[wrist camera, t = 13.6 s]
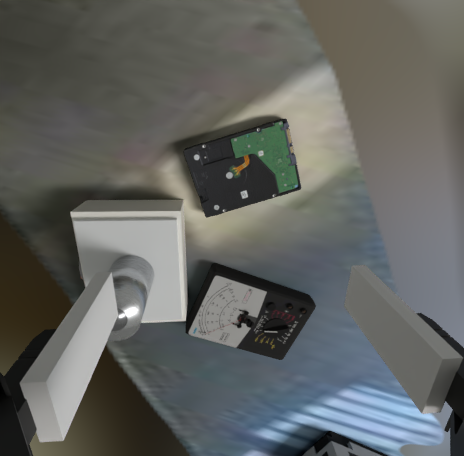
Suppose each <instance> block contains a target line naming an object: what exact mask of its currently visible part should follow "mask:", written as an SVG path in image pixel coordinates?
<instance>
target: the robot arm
mask: <svg viewBox="0 0 464 456" xmlns="http://www.w3.org/2000/svg"><path fill="white" fill-rule="evenodd" d="M344 307H345V308H346V310H347V311H348V312H349V314H350V315H351V316H352V318H353V319H354V321H355V322H356V323H357V325H358V326H359V327H360V329H361V330H362V332H363V333H364V334H365V336H366V337H367V339H368V340H369V341H370V343H371V344H372V345H373V347H374V348H375V350H376V351H377V352H378V354H379V355H380V356H381V358H382V359H383V361H384V362H385V363H386V365H387V366H388V368H389V369H390V370H391V372H392V373H393V374H394V376H395V377H396V379H397V380H398V381H399V383H400V384H401V385H402V387H403V388H404V390H405V391H406V392H407V394H408V395H409V397H410V398H411V399H412V401H413V402H414V403H415V405H416V406H417V408H418V409H419V410H420V412H421V413H422V414H425V413H438V412H441V410H442V408H443V405H444V403H445V401H446V402H447V403H448V404H449V405H450V407H451V408H452V409H453V411H452V413H451V415H450V418H449V420H448V422H447V425H446V427H445V431H446V432H448V431H449V429H450V439H451V440H450V447H451V448H450V451H451V456H464V348H463V347H462V346H461V345H460V344H459V343H458V342H457V341H455V340H454V339H453V338H452V337H450V335H448V333H446V332H445V331H444V330H442V328H441V327H440V326H439V325H438V324H437V323H436V322H434V321H433V320H432V319H430V318H428V317H427V316H425V315H423V314H421V313H415V312H414V311H413V310H412V309H411V308H410V307H409V306H408V305H407V304H406V303H405V302H403V301H402V300H401V299H400V298H399V297H398V296H397V295H396V294H395V293H394V292H393V291H392V290H391V289H390V288H389V287H388V286H386V285H385V284H384V283H383V282H382V281H381V280H380V279H379V278H378V277H377V276H376V275H375V274H374V273H373V272H372V271H371V270H370V269H368V268H367V267H366V266H365V265H359V266H352V269H351V274H350V279H349V284H348V289H347V294H346V299H345V304H344ZM117 317H118V310H117V304H116V297H115V291H114V284H113V278H112V272H96V274H95V275H94V277H93V278H92V279H91V281H90V282H89V284H88V285H87V287H86V288H85V289H84V291H83V292H82V294H81V295H80V297H79V298H78V300H77V301H76V302H75V304H74V305H73V307H72V308H71V310H70V311H69V313H68V314H67V315H66V317H65V318H64V320H63V321H62V323H61V324H60V326H59V327H58V328H57V329H51V330H44V331H43V332H42V333H40V334H39V335H38V336H36V337H35V338H34V339H33V340H32V341H31V342H30V344H29V345H28V346H27V347H26V349H25V351H23V353H22V354H21V355H20V357H19V359H18V360H17V361H16V362H15V363H14V364H13V366H12V367H11V368H10V370H9V371H8V372H7V374H6V375H5V376H3V375H2V374H1V373H0V456H33V454H32V451H31V448H30V445H29V444H30V442H31V440H32V438H33V436H34V434H35V432H37V435H38V438H39V441H40V442H48V441H49V442H50V441H63V440H64V437H65V436H66V433H67V431H68V429H69V427H70V424H71V422H72V420H73V418H74V415H75V413H76V411H77V408H78V406H79V404H80V401H81V399H82V397H83V395H84V392H85V390H86V388H87V386H88V383H89V381H90V379H91V376H92V374H93V372H94V369H95V367H96V365H97V363H98V360H99V358H100V355H101V353H102V351H103V349H104V347H105V344H106V342H107V340H108V337H109V335H110V333H111V330H112V328H113V326H114V324H115V321H116V319H117Z"/></svg>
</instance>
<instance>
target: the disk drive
mask: <svg viewBox="0 0 464 456" xmlns="http://www.w3.org/2000/svg"><path fill="white" fill-rule="evenodd" d="M288 127H289V125H288V122H287V119H280V120H277V121H274V122H269V123H266V124H263V125H261V126H258V127H254V128H251V129H248V130H245V131H241V132H238V133H235V134H232V135H228V136H225V137H222V138H219V139H215V140H212V141H209V142H206V143H201V144H198V145H194V146H193V147H189V148H186V149H185V150H184V156H185V158H186V161H187V164H188V167H189V170H190V172H191V176H192V179H193V181H194V184H195V187H196V190H197V192H198V195H199V197H200V201H201V205H202V208H203V211H204V213H205V216H206V217H210V216H215V215H219V214H222V213H224V212H227V211H231V210H234V209H238V208H241V207H244V206H247V205H251V204H254V203H258V202H261V201H265V200H267V199H271V198H274V197H277V196H282V195H285V194H288V193H290V192H294V191H297V190H300V189H301V184H300V179H299V174H298V169H297V165H296V164H297V162H296V157H295V154H294V149H293V145H292V140H291V135H290V130H289V128H288Z"/></svg>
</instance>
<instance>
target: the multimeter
mask: <svg viewBox="0 0 464 456" xmlns="http://www.w3.org/2000/svg"><path fill="white" fill-rule="evenodd" d="M315 307H316V305H315V303H314V301H313V299H312V298H311V297H310V296H309V295H307V294H305V293H302V292H299V291H296V290H293V289H290V288H287V287H284V286H281V285H278V284H275V283H272V282H269V281H267V280H264V279H261V278H258V277H255V276H252V275H249V274H246V273H243V272H240V271H237V270H234V269H231V268H228V267H226V266H223V265H220V264H217V263H214V264H213V265H212V266H211V269H210V271H209V273H208V275H207V277H206V279H205V282H204V284H203V286H202V288H201V290H200V293H199V295H198V297H197V299H196V301H195V303H194V306H193V308H192V310H191V312H190V314H189V317H188V319H187V322H186V333H187V334H189V335H192V336H195V337H199V338H203V339H206V340H210V341H213V342H217V343H221V344H224V345H228V346H232V347H235V348H239V349H242V350H246V351H250V352H253V353H257V354H260V355H264V356H268V357H271V358H275V359H279V360H282V359H283V358H284V357H285V355H286V353H287V352H288V350H289V349H290V347H291V346H292V344H293V342H294V341H295V339H296V338H297V336H298V334H299V333H300V331H301V330H302V328H303V327H304V325H305V323H306V322H307V320H308V319H309V317H310V315H311V314H312V312H313V311H314V309H315Z"/></svg>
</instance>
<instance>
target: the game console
mask: <svg viewBox="0 0 464 456" xmlns="http://www.w3.org/2000/svg"><path fill="white" fill-rule="evenodd" d="M303 456H387V455H385V454H383V453H380V452H378V451H376V450H373V449H371V448H369V447H367V446H364V445H362V444H360V443H357V442H355V441H353V440H350V439H348V438H346V437H343V436H341V435H339V434H336V433H334V432H332V431H329V432H328V433H327V434H326V435H325V436H324V437H322V438H321V439H320V440H319V441H318V442H317V443H316V444H315V445H314V446H313V447H311V448H310V449H309V450H308V451H307V452H306V453H305V454H304V455H303Z"/></svg>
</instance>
